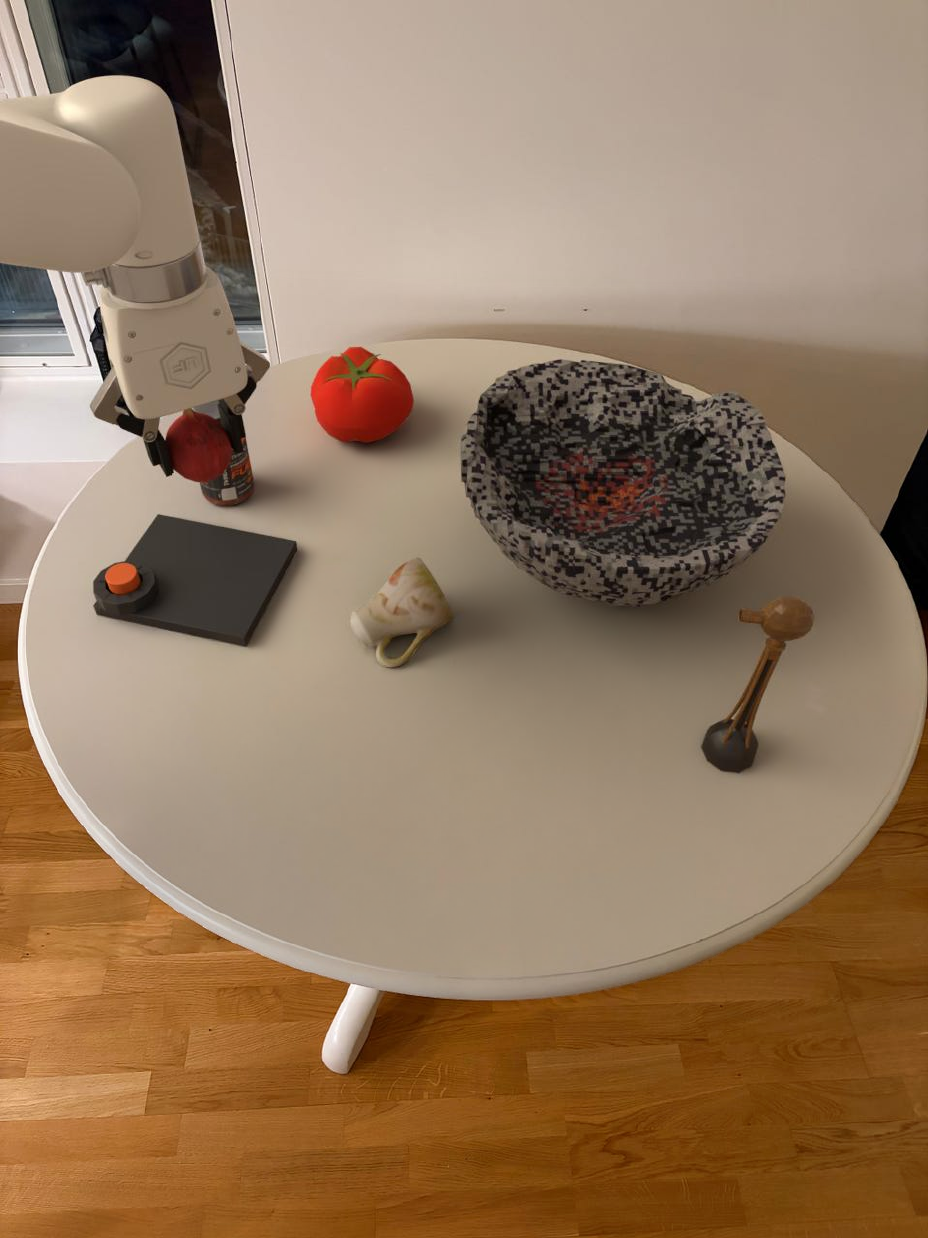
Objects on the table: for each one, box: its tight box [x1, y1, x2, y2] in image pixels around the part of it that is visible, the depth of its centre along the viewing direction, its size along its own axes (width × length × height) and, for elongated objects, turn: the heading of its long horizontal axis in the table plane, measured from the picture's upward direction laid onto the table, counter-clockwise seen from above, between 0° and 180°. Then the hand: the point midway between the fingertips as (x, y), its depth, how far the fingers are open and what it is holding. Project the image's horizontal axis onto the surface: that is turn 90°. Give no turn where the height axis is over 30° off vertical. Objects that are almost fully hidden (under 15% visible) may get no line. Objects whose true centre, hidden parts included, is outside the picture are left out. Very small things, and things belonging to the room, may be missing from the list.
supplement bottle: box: [192, 399, 255, 506], centre depth 99 cm, size 6×6×11 cm
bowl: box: [460, 358, 787, 607], centre depth 92 cm, size 31×31×15 cm
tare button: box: [105, 563, 140, 595], centre depth 89 cm, size 3×3×2 cm
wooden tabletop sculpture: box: [700, 596, 816, 774], centre depth 74 cm, size 6×5×20 cm
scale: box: [92, 513, 299, 648], centre depth 92 cm, size 16×14×3 cm
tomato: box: [310, 346, 415, 443], centre depth 108 cm, size 13×12×8 cm
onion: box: [164, 408, 232, 483], centre depth 81 cm, size 6×6×8 cm
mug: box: [349, 557, 455, 668], centre depth 88 cm, size 8×10×10 cm
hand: (199, 454), depth 82 cm, fingers closed on onion, 5 cm apart
